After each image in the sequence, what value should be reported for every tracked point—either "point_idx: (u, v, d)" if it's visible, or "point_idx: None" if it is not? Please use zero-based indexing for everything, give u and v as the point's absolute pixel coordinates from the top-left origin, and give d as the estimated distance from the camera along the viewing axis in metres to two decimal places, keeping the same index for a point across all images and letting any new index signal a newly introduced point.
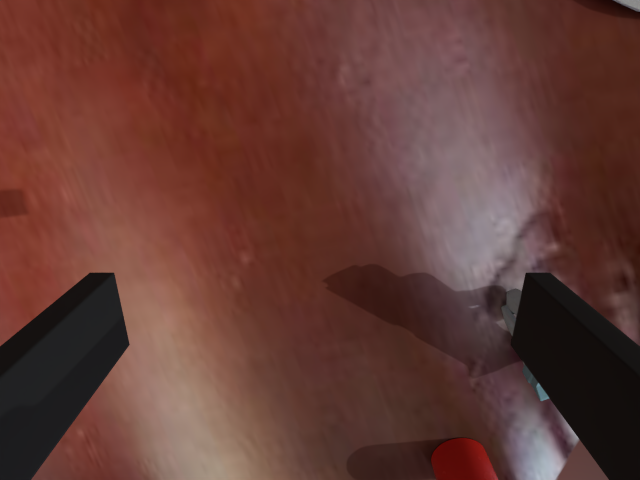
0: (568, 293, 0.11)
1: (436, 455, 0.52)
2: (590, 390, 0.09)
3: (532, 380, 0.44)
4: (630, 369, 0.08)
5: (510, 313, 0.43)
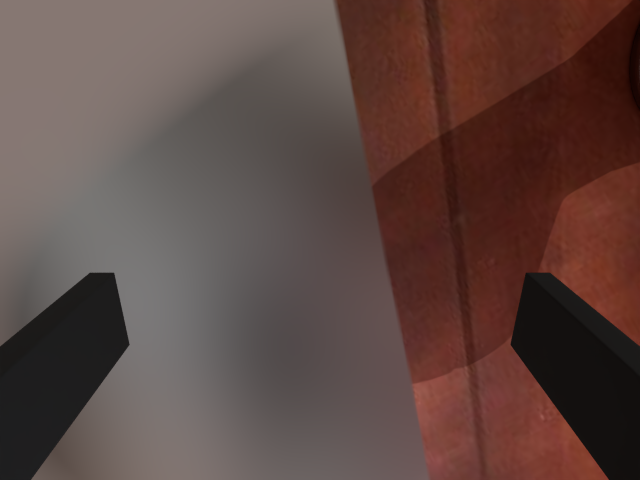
0: (568, 293, 0.11)
1: None
2: (590, 390, 0.09)
3: None
4: (630, 369, 0.08)
5: None
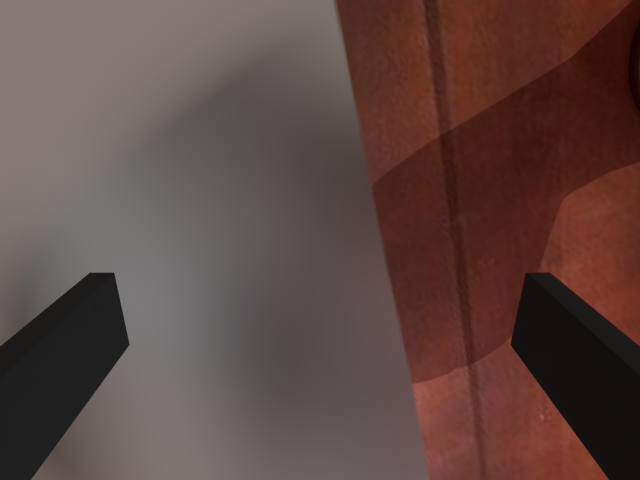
0: (568, 293, 0.11)
1: None
2: (590, 390, 0.09)
3: None
4: (630, 369, 0.08)
5: None
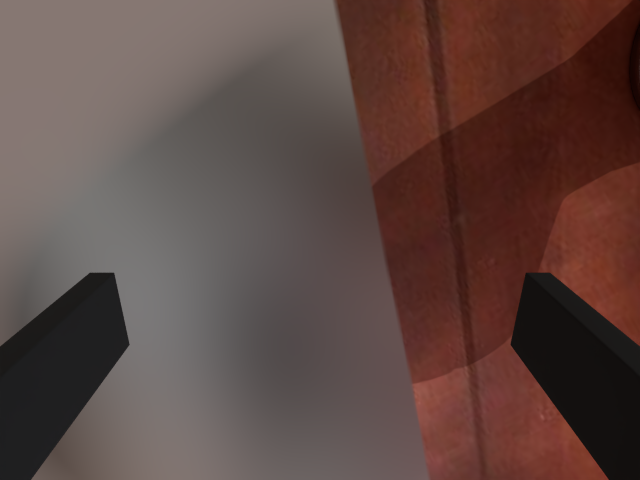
0: (568, 293, 0.11)
1: None
2: (590, 390, 0.09)
3: None
4: (630, 369, 0.08)
5: None
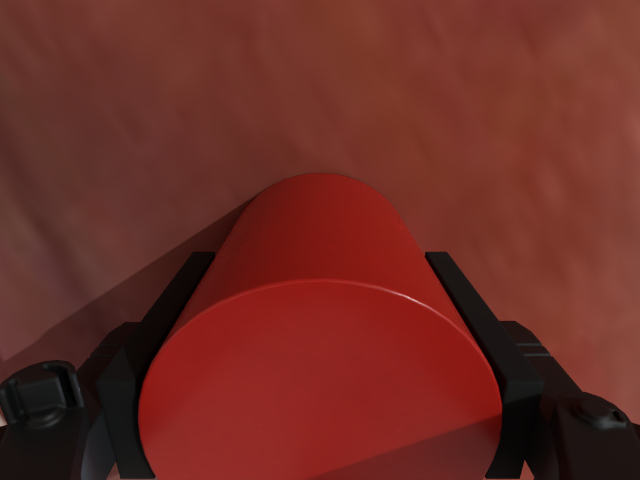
0: (453, 267, 0.13)
1: None
2: None
3: None
4: (471, 324, 0.10)
5: None
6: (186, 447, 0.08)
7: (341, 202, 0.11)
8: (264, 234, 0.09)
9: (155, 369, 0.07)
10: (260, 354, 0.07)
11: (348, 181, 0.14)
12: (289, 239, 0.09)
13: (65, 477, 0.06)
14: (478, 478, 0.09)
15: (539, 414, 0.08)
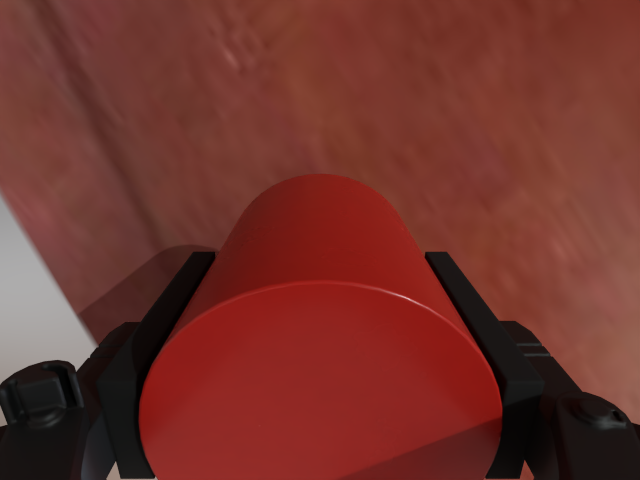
0: (453, 267, 0.13)
1: None
2: None
3: None
4: (470, 324, 0.10)
5: None
6: (187, 448, 0.08)
7: (341, 204, 0.11)
8: (265, 235, 0.09)
9: (156, 370, 0.07)
10: (261, 355, 0.07)
11: (348, 182, 0.14)
12: (290, 240, 0.09)
13: (65, 477, 0.06)
14: (478, 479, 0.09)
15: (539, 414, 0.08)
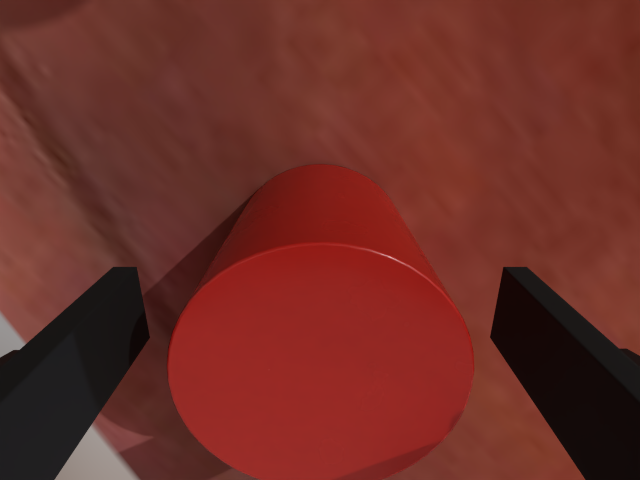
0: (542, 286, 0.11)
1: None
2: (558, 378, 0.10)
3: None
4: (592, 356, 0.09)
5: None
6: (207, 390, 0.10)
7: (339, 188, 0.13)
8: (272, 213, 0.11)
9: (183, 320, 0.09)
10: (271, 307, 0.09)
11: (346, 171, 0.15)
12: (294, 216, 0.10)
13: None
14: (455, 419, 0.10)
15: None
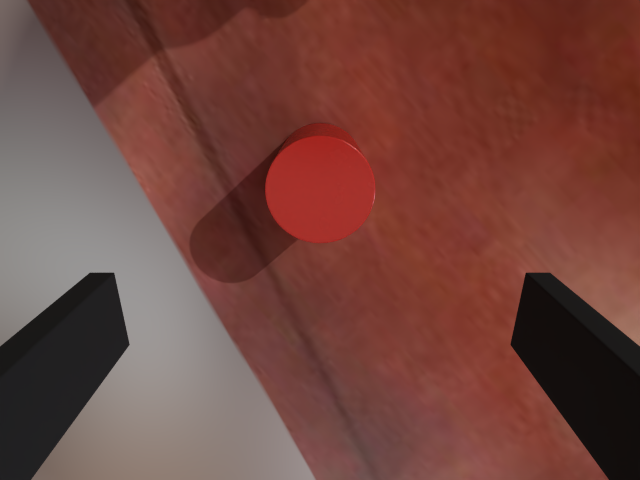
0: (568, 293, 0.11)
1: None
2: (590, 390, 0.09)
3: None
4: (630, 369, 0.08)
5: None
6: (279, 195, 0.27)
7: (328, 128, 0.30)
8: (301, 134, 0.28)
9: (272, 165, 0.26)
10: (303, 160, 0.26)
11: (332, 125, 0.32)
12: (310, 133, 0.27)
13: None
14: (370, 208, 0.27)
15: None
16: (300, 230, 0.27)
